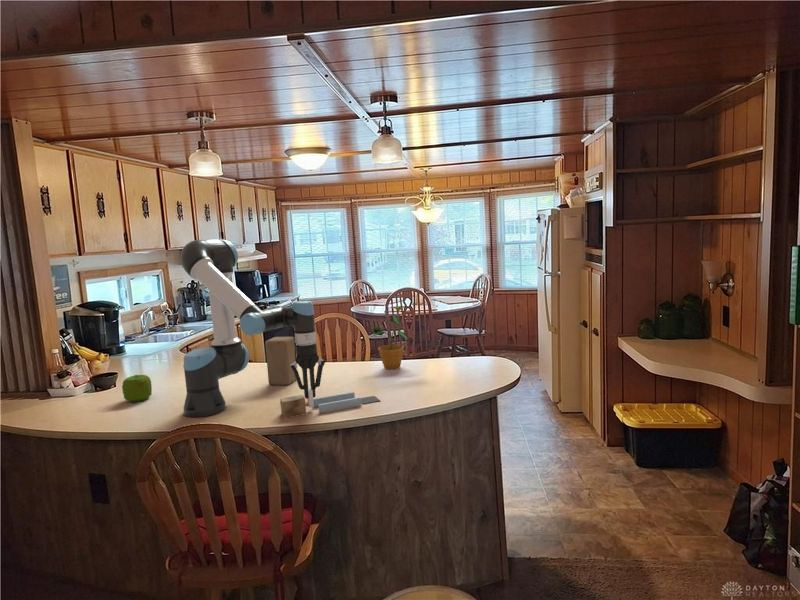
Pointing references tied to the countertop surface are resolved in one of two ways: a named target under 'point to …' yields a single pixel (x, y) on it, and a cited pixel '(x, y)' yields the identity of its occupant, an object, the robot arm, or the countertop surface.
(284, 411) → the block
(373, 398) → the trap mat
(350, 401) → the channel
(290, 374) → the wooden block
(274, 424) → the countertop surface
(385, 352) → the potted plant
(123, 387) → the green rounded cube
